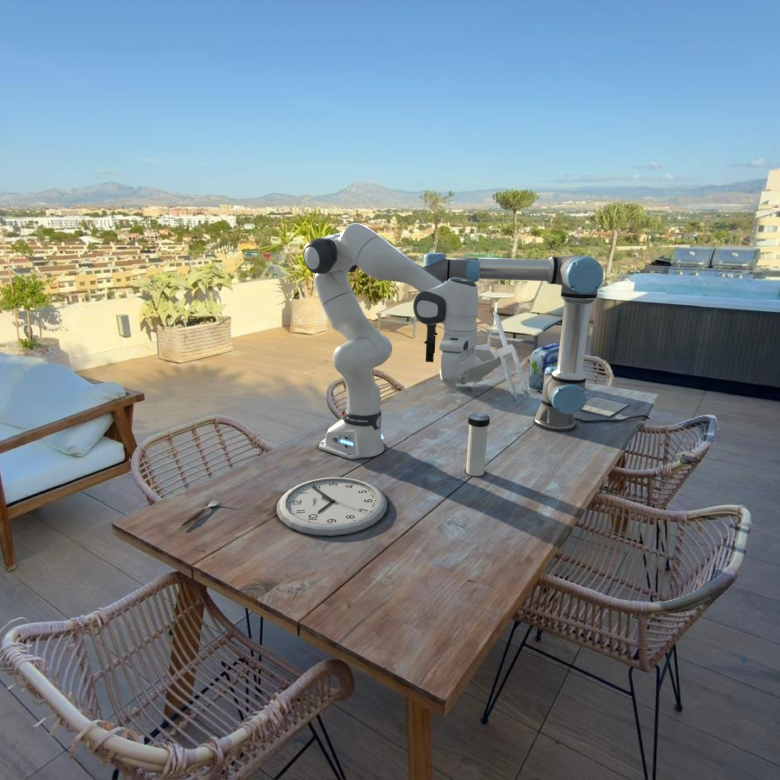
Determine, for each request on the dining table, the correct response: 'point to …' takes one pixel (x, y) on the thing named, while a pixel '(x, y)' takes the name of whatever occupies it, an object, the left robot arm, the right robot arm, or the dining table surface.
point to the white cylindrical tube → (476, 450)
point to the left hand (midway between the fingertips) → (458, 388)
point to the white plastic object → (495, 362)
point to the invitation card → (603, 406)
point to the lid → (479, 420)
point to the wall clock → (331, 506)
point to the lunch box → (542, 364)
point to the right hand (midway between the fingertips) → (430, 357)
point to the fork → (211, 504)
